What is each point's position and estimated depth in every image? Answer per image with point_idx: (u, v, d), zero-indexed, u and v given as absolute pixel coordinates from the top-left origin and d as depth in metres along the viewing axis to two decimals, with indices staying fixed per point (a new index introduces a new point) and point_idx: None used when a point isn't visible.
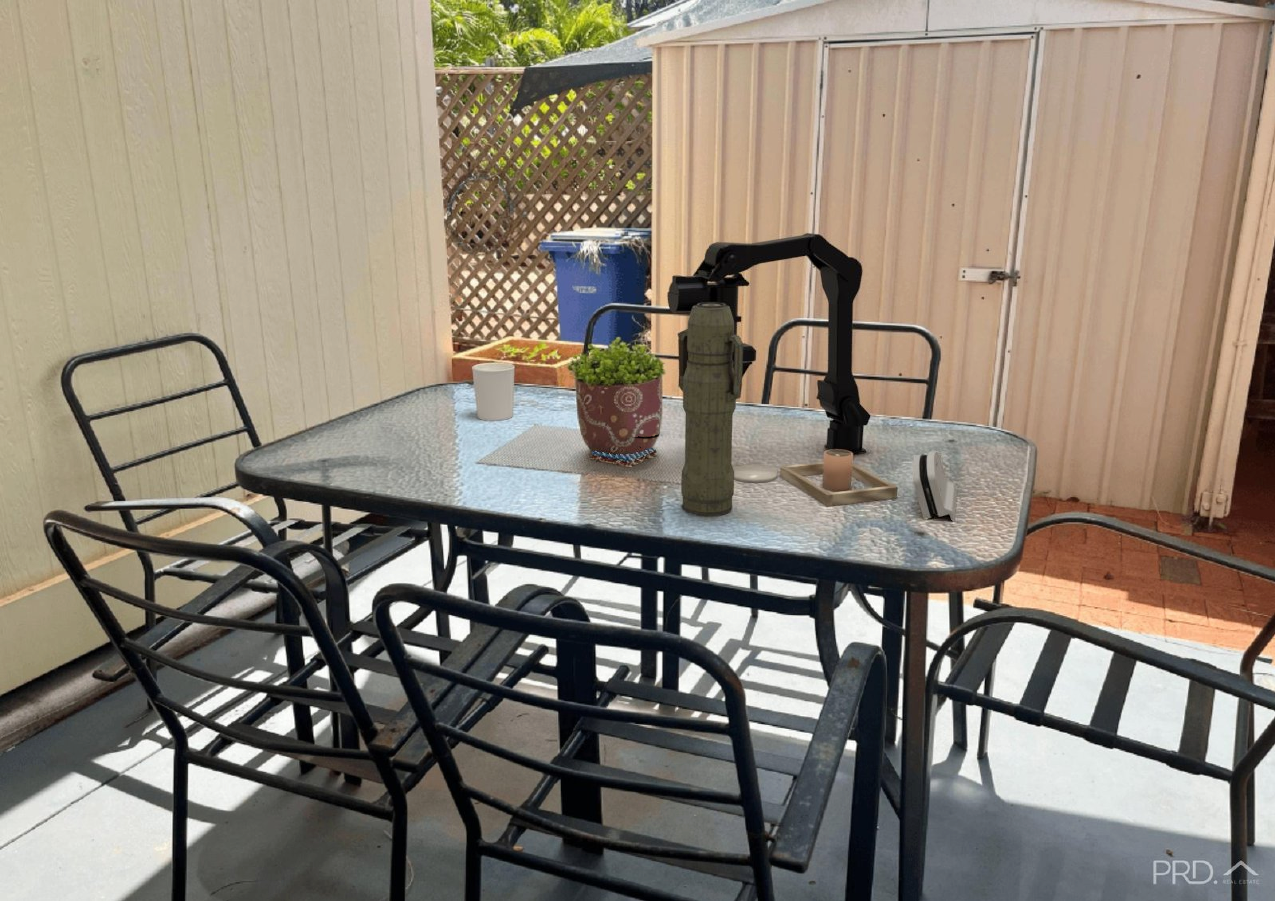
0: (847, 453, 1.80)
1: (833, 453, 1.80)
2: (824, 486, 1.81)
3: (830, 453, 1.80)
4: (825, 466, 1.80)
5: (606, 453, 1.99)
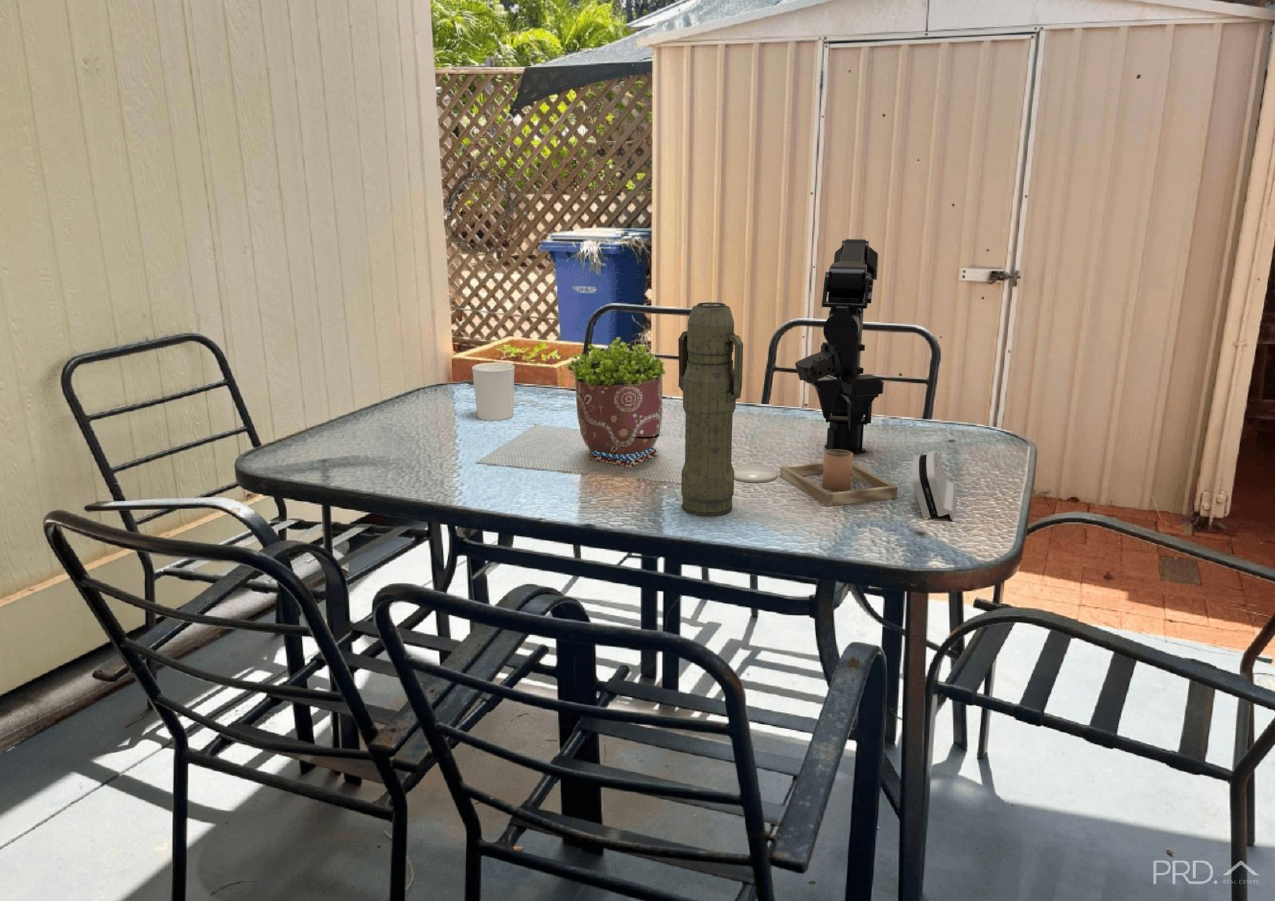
0: (847, 453, 1.80)
1: (833, 453, 1.80)
2: (824, 486, 1.81)
3: (830, 453, 1.80)
4: (825, 466, 1.80)
5: (606, 453, 1.99)
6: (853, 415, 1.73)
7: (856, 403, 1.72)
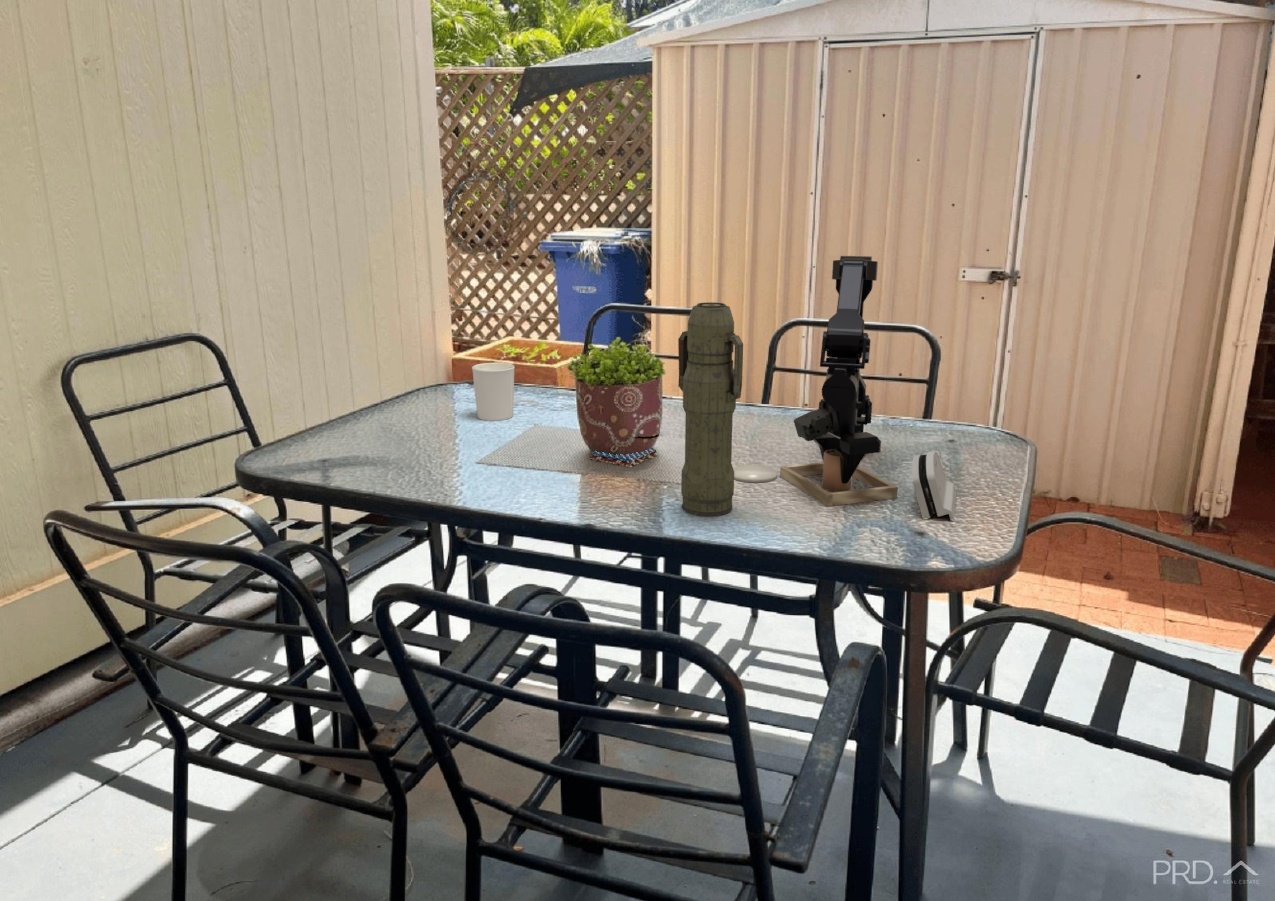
0: None
1: (833, 453, 1.80)
2: (824, 486, 1.81)
3: (830, 453, 1.80)
4: (825, 466, 1.80)
5: (606, 453, 1.99)
6: (845, 469, 1.77)
7: (848, 458, 1.77)
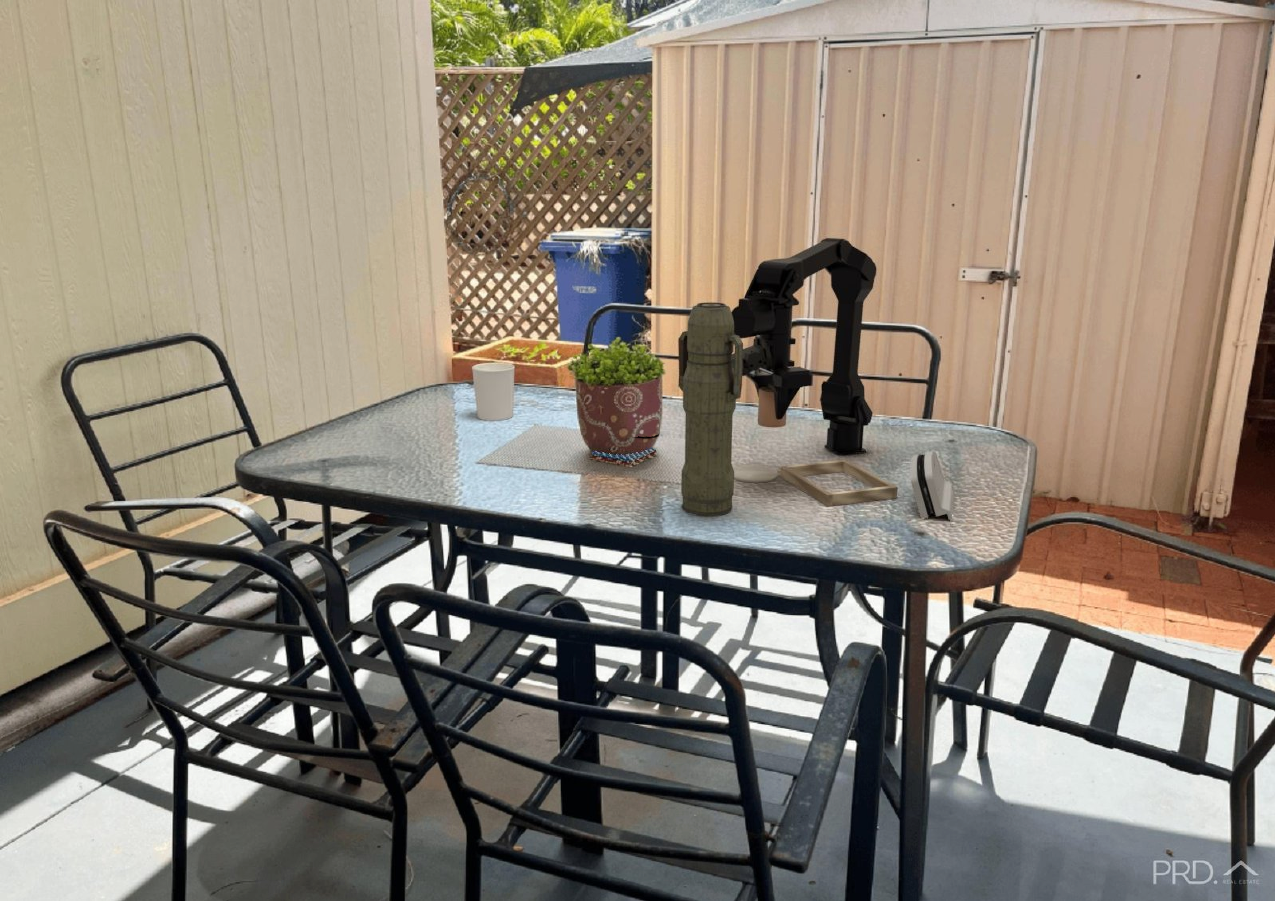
0: None
1: (768, 390, 1.82)
2: (759, 423, 1.84)
3: (765, 390, 1.82)
4: (760, 402, 1.82)
5: (606, 453, 1.99)
6: (779, 404, 1.80)
7: (782, 393, 1.79)
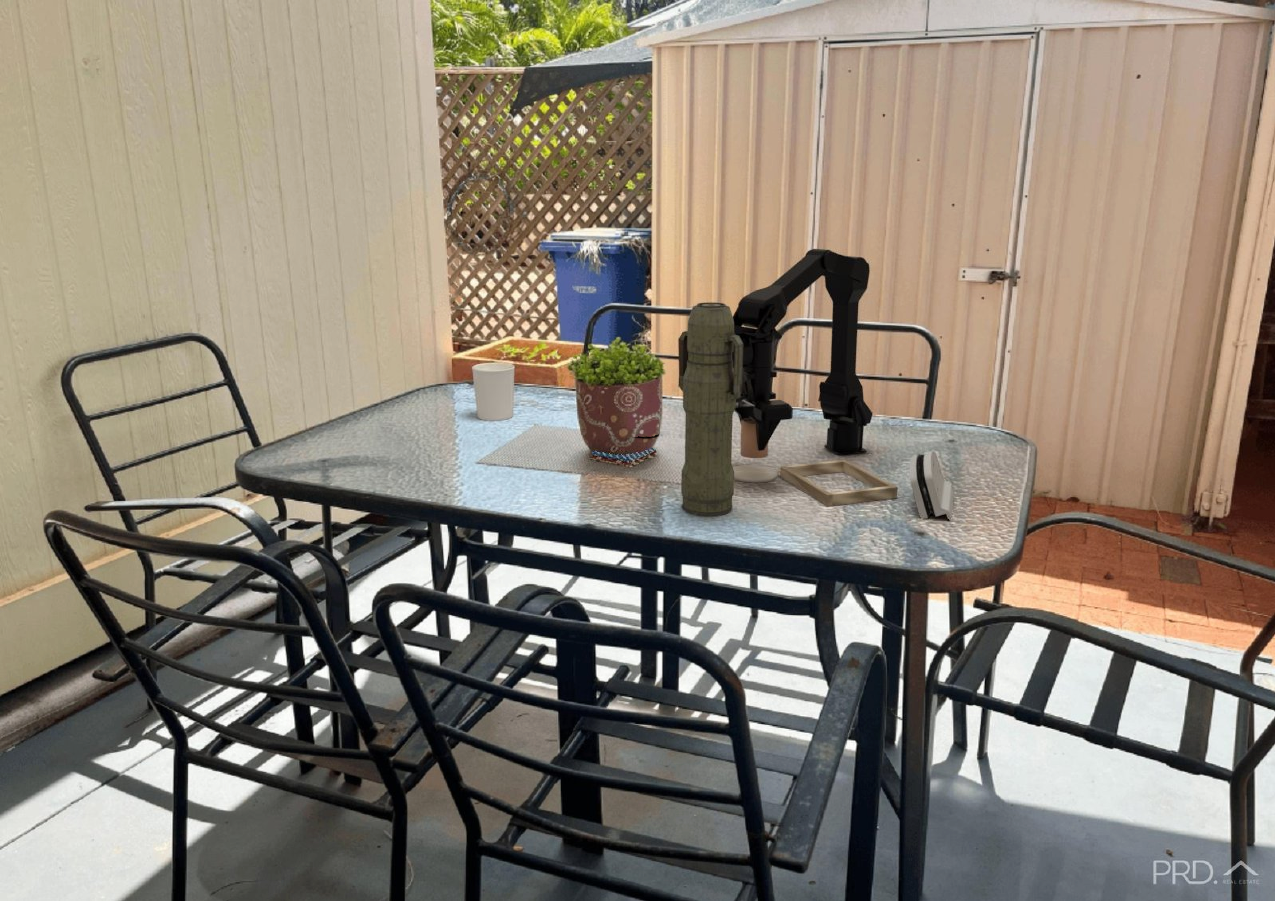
0: None
1: (750, 421, 1.86)
2: (741, 454, 1.87)
3: (747, 421, 1.86)
4: (742, 434, 1.86)
5: (606, 453, 1.99)
6: (761, 436, 1.83)
7: (763, 425, 1.82)
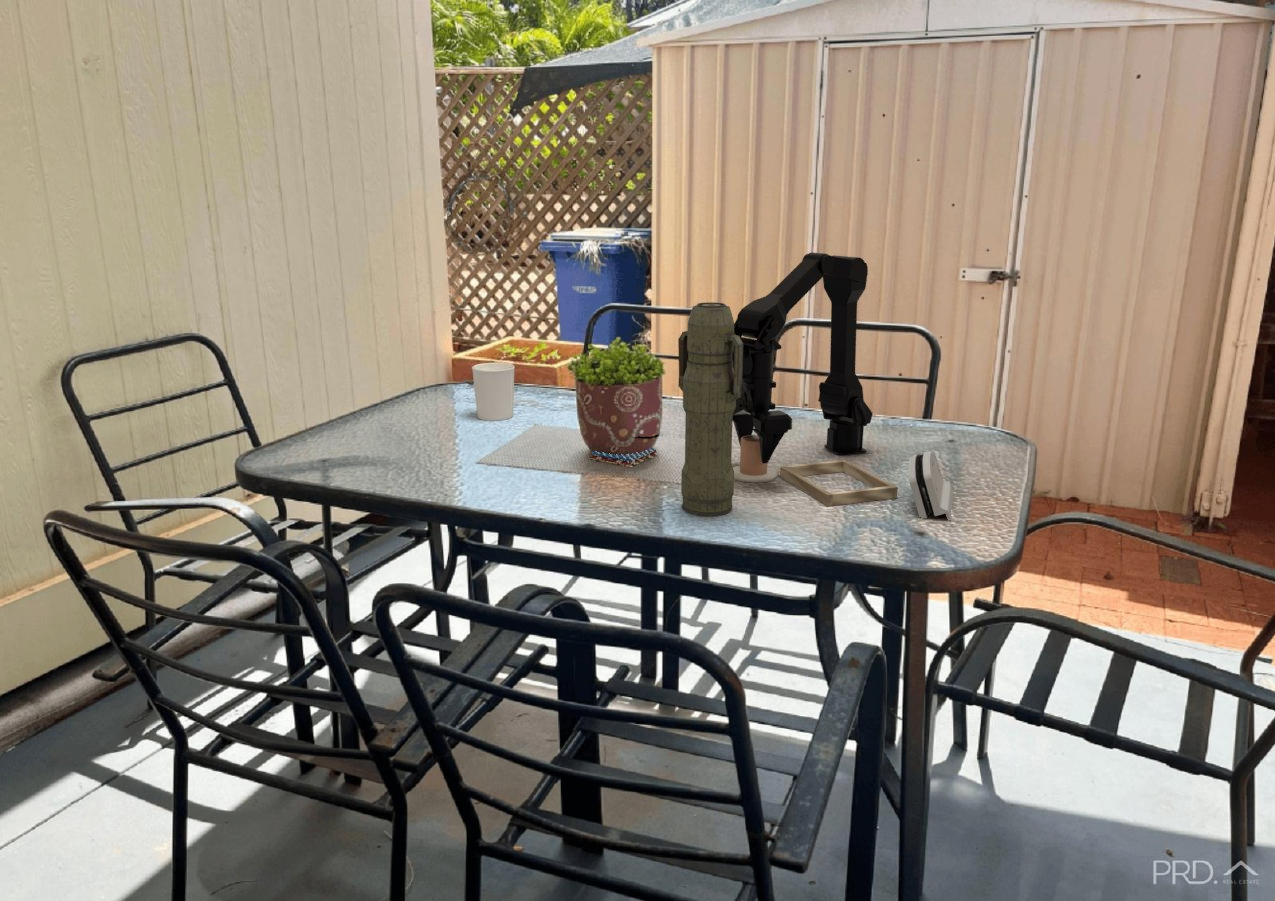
0: None
1: (749, 438, 1.87)
2: (741, 471, 1.88)
3: (746, 438, 1.87)
4: (741, 451, 1.87)
5: (606, 453, 1.99)
6: (765, 449, 1.82)
7: (767, 438, 1.81)
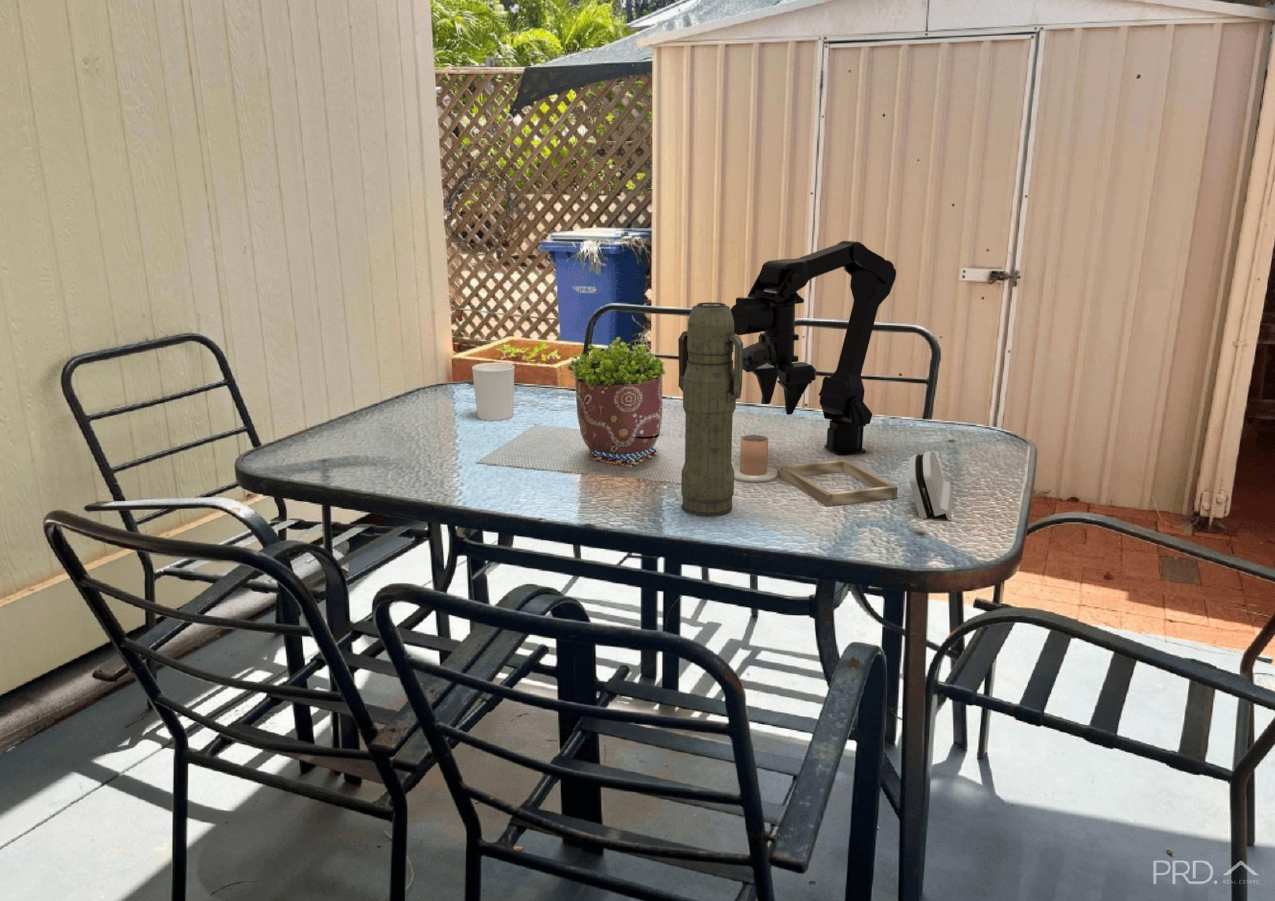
0: (763, 439, 1.86)
1: (749, 438, 1.87)
2: (741, 471, 1.88)
3: (746, 438, 1.87)
4: (741, 451, 1.87)
5: (606, 453, 1.99)
6: (789, 400, 1.86)
7: (791, 389, 1.85)
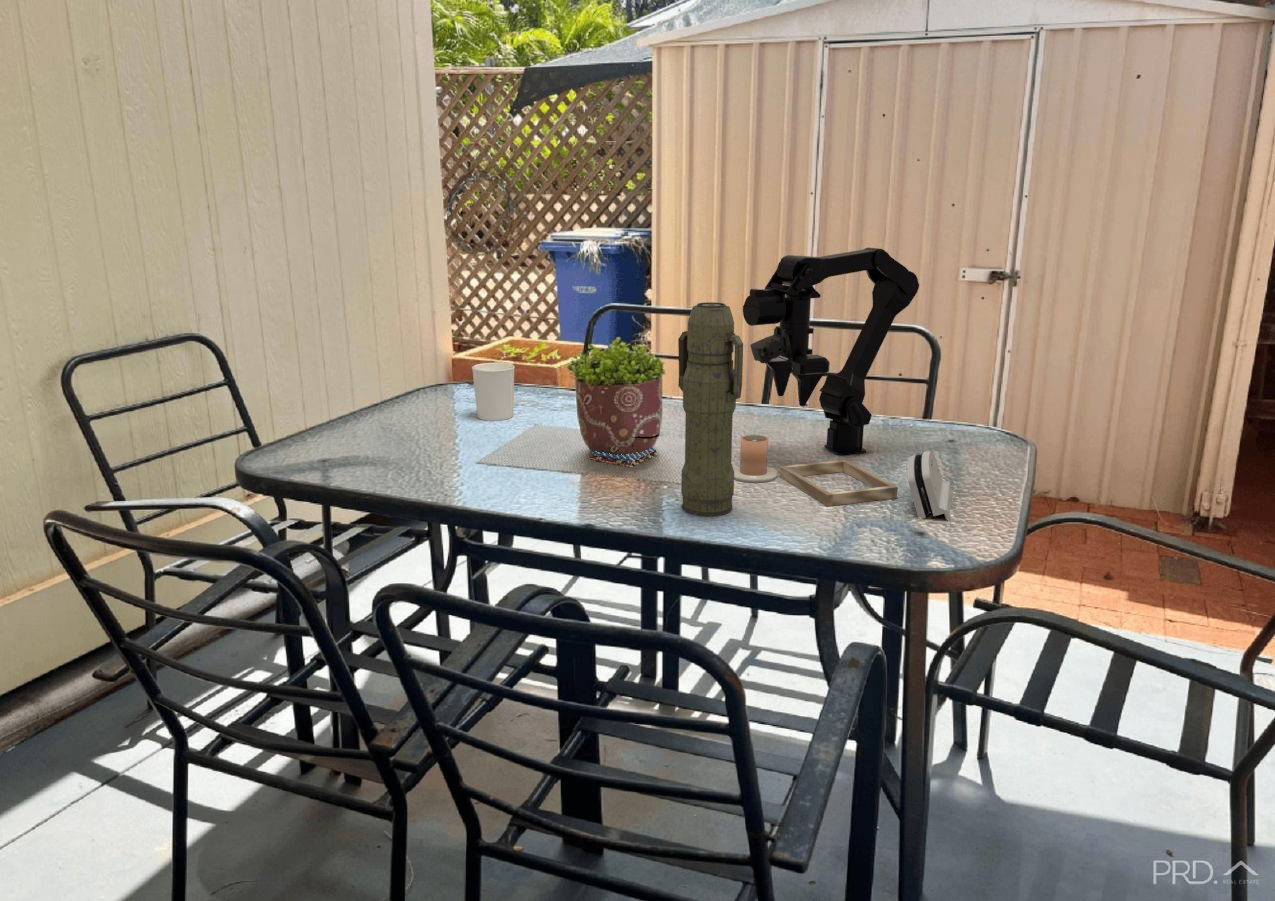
0: (763, 439, 1.86)
1: (749, 438, 1.87)
2: (741, 471, 1.88)
3: (746, 438, 1.87)
4: (742, 451, 1.87)
5: (606, 453, 1.99)
6: (802, 392, 1.90)
7: (805, 381, 1.90)
